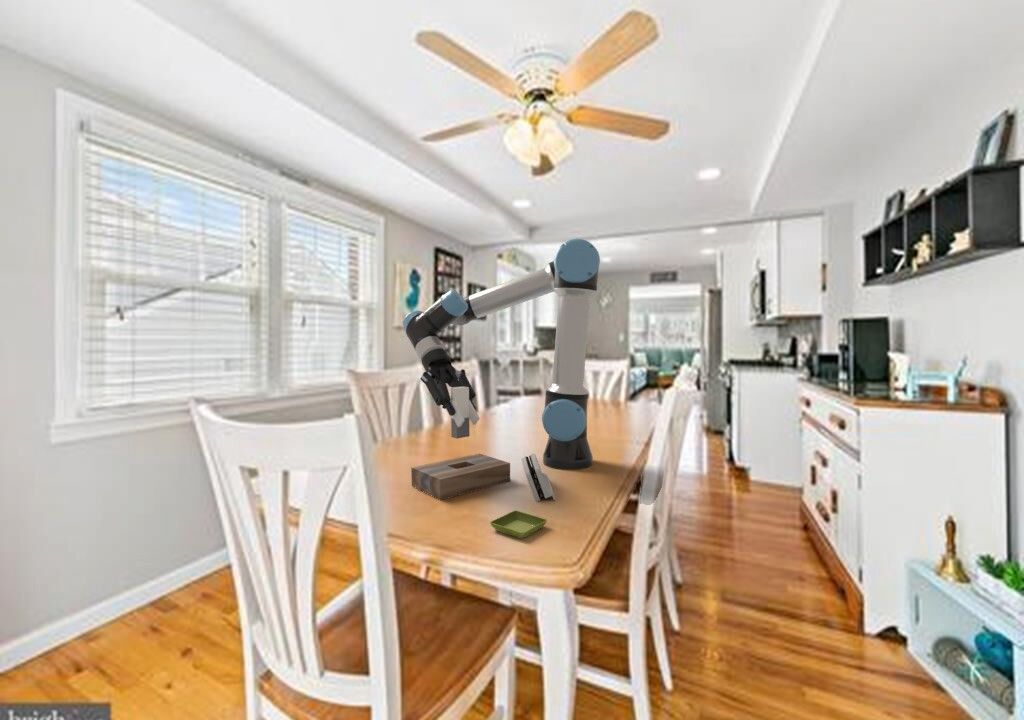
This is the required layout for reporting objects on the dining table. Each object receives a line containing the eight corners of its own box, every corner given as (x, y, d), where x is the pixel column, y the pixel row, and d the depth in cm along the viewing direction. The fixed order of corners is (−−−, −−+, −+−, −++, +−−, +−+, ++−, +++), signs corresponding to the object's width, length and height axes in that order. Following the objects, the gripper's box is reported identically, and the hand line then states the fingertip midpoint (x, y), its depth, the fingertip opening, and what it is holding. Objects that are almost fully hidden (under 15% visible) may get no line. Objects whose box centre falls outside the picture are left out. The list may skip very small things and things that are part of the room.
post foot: (411, 486, 125) (411, 467, 125) (479, 470, 140) (479, 453, 139) (440, 499, 115) (439, 479, 114) (510, 481, 129) (510, 463, 129)
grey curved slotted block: (556, 501, 113) (542, 462, 113) (537, 508, 113) (523, 469, 113) (548, 479, 130) (536, 445, 130) (532, 485, 130) (519, 451, 130)
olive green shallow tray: (548, 529, 98) (548, 519, 98) (523, 544, 91) (523, 533, 91) (515, 519, 104) (515, 509, 103) (488, 532, 97) (488, 522, 97)
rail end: (451, 437, 125) (450, 387, 125) (464, 434, 128) (463, 386, 127) (456, 438, 123) (456, 388, 123) (469, 436, 126) (468, 387, 125)
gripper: (453, 363, 142) (489, 427, 130) (401, 367, 131) (435, 436, 119) (463, 346, 138) (501, 409, 126) (410, 347, 126) (446, 417, 115)
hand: (468, 422), depth 123 cm, fingers closed on rail end, 4 cm apart
